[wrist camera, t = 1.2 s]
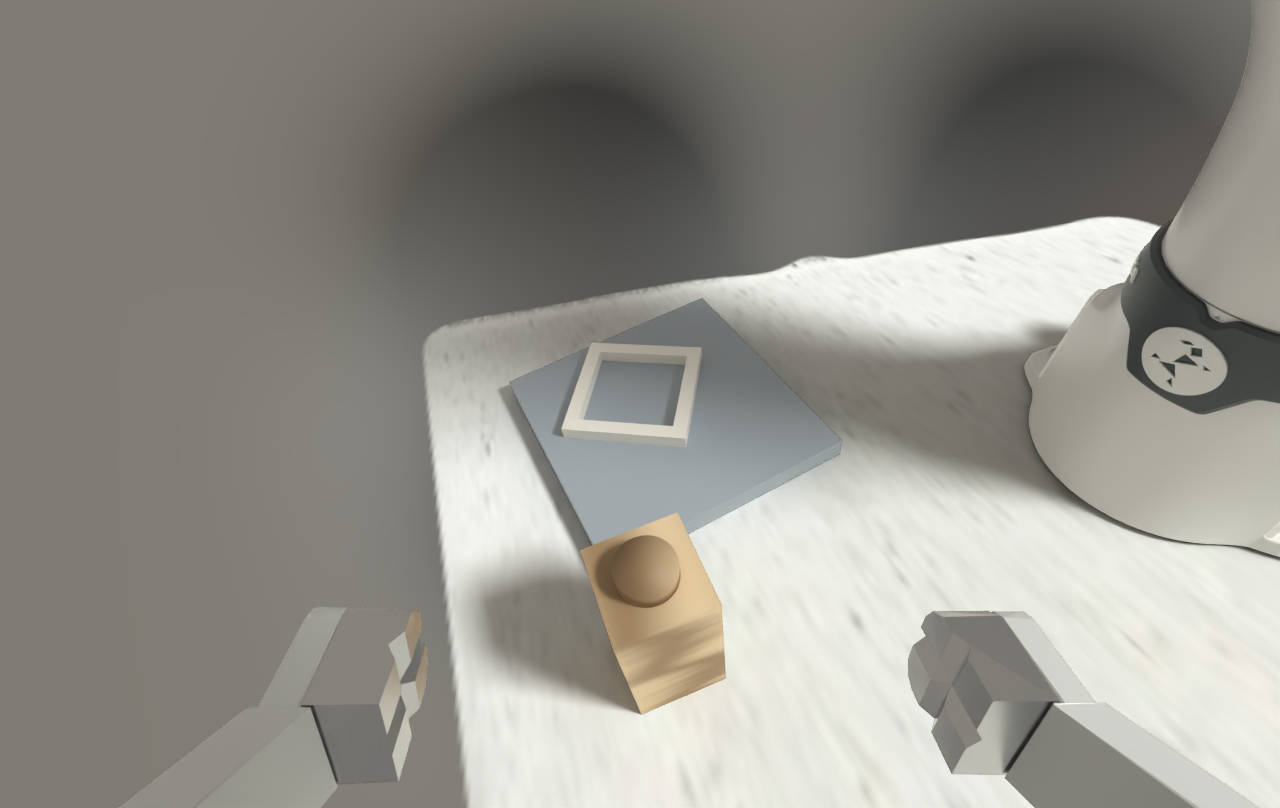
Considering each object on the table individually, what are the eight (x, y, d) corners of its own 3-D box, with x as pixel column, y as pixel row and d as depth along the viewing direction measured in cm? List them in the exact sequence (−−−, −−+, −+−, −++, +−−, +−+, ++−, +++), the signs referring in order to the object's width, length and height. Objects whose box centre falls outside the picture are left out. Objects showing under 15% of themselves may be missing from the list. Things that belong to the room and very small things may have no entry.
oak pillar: (690, 598, 37) (675, 501, 29) (725, 678, 34) (720, 594, 26) (612, 629, 36) (575, 539, 28) (641, 714, 33) (608, 640, 25)
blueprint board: (702, 311, 54) (702, 297, 53) (839, 453, 43) (842, 440, 41) (514, 394, 50) (509, 381, 49) (608, 576, 39) (604, 565, 38)
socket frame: (702, 356, 48) (701, 347, 48) (686, 447, 43) (685, 438, 42) (593, 351, 50) (591, 342, 50) (564, 437, 45) (561, 428, 44)
